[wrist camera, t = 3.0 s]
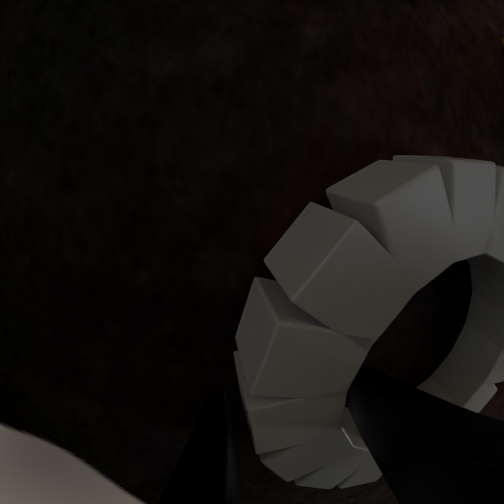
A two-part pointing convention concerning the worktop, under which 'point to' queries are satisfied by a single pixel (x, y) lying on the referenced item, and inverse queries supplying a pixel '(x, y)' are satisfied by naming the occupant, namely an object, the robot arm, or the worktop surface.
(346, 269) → the segmented block ring
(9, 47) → the worktop surface
